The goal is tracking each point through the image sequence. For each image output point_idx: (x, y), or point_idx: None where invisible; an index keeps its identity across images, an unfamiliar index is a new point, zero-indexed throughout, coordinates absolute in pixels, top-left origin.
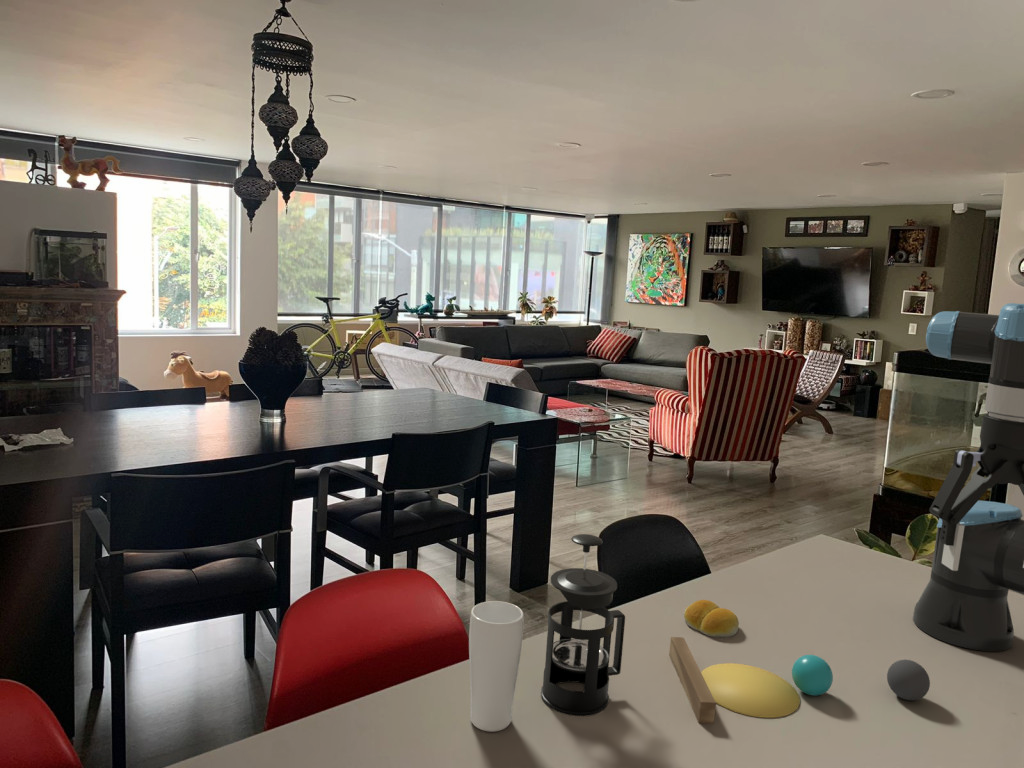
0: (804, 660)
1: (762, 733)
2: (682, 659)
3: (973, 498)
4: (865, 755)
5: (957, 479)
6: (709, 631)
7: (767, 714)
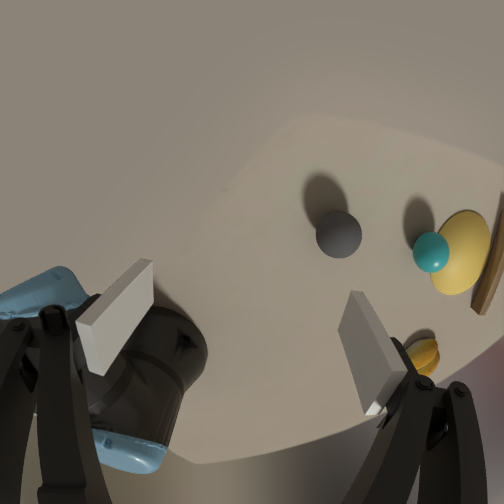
0: (448, 258)
1: (484, 192)
2: (499, 280)
3: (404, 463)
4: (435, 145)
5: (486, 502)
6: (436, 341)
7: (472, 214)
